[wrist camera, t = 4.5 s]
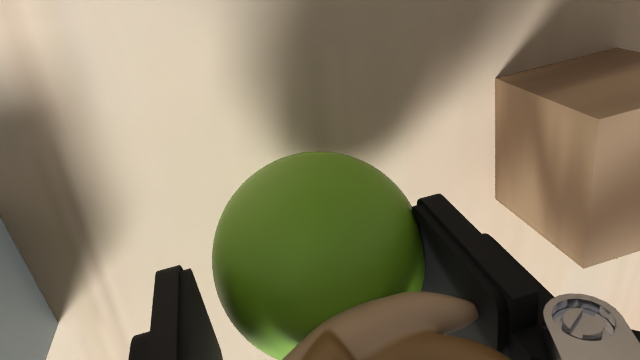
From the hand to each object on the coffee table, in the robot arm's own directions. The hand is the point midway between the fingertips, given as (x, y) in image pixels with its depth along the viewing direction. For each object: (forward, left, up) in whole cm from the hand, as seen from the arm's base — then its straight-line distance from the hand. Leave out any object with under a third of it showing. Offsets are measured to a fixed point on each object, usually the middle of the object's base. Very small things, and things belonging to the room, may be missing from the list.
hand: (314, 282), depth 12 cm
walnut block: (+1, +11, -6) cm, 12 cm away
